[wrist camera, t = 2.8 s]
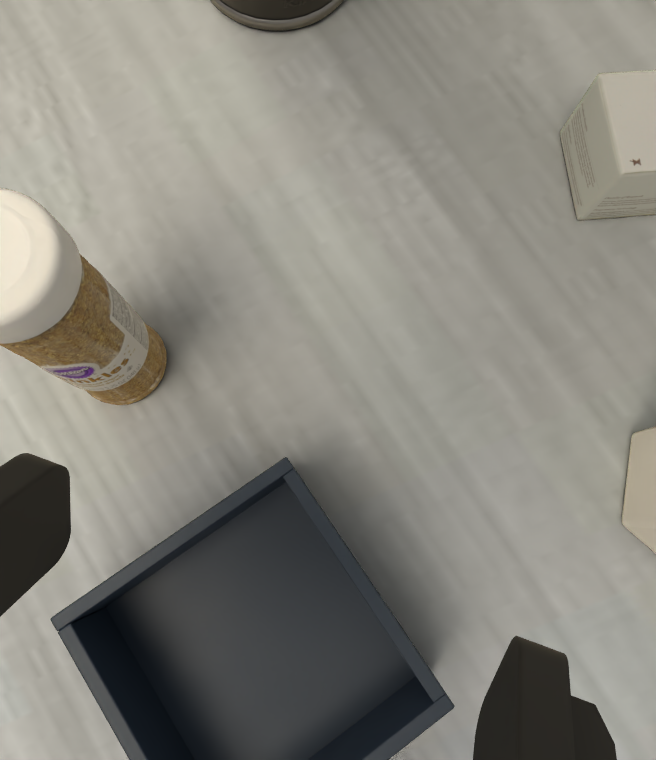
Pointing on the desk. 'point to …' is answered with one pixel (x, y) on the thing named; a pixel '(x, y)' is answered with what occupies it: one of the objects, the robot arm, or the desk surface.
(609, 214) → the small box
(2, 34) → the desk surface
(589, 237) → the desk surface
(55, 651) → the desk surface
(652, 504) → the jar
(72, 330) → the sprinkles bottle
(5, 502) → the robot arm
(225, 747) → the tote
